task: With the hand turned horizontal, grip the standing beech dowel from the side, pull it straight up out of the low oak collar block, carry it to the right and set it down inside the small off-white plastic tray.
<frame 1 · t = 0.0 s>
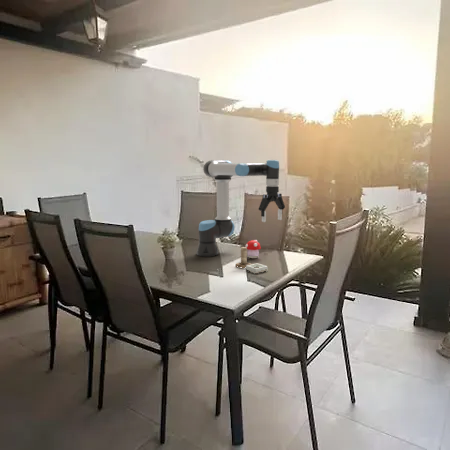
hand: (271, 220, 238), 28 cm above the table, tool pointing down, fingers open, 13 cm apart
mushroom: (252, 257, 263), on the table
tray: (256, 270, 231), on the table
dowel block: (243, 266, 240), on the table
dowel: (243, 257, 239), in the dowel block
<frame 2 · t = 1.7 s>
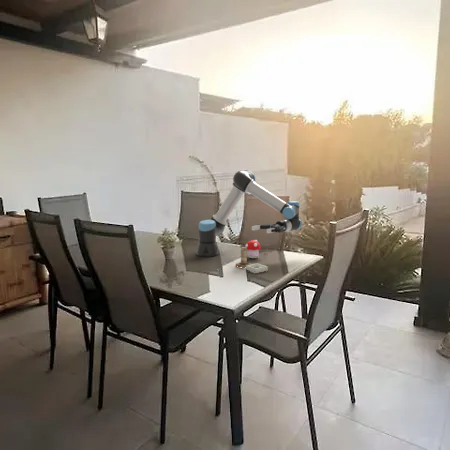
hand: (259, 229, 244), 22 cm above the table, tool horizontal, fingers open, 13 cm apart
nothing on the table moved.
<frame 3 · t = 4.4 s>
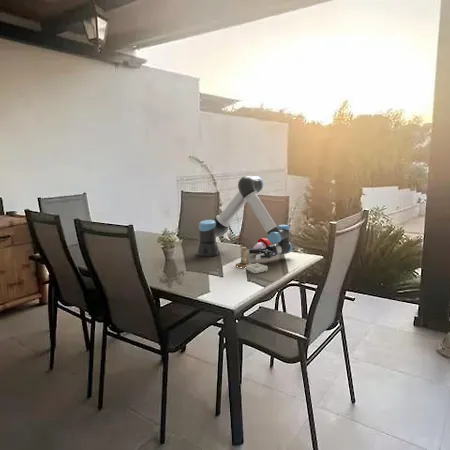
hand: (248, 255, 240), 7 cm above the table, tool horizontal, fingers open, 13 cm apart
mushroom: (256, 249, 268), point 4 cm above the table
everything else where it was.
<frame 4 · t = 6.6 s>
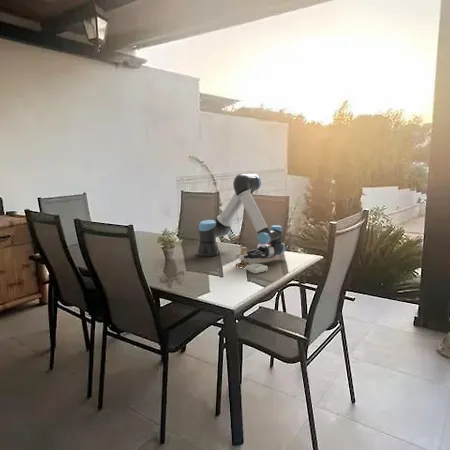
hand: (237, 257, 235), 7 cm above the table, tool horizontal, fingers closed on dowel, 3 cm apart
mushroom: (259, 248, 267), point 5 cm above the table
dowel: (243, 257, 239), in the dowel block, touching gripper
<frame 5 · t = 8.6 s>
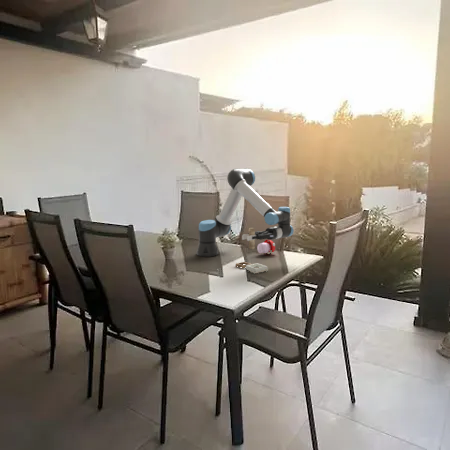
hand: (245, 237, 228), 20 cm above the table, tool horizontal, fingers closed on dowel, 3 cm apart
dowel: (251, 238, 232), point 19 cm above the table, touching gripper
everything else where it was.
when the fingers open (9 cm above the table, at t = 11.0 s): dowel drops 1 cm, resting on tray.
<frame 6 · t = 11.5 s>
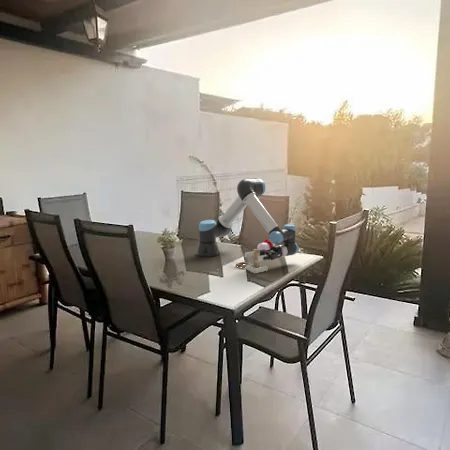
hand: (251, 257, 227), 9 cm above the table, tool horizontal, fingers open, 11 cm apart
dowel: (256, 259, 230), in the tray, point 7 cm above the table
everything else where it was.
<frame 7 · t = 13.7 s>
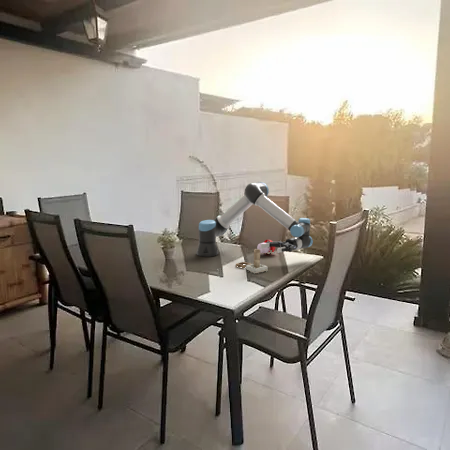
hand: (269, 248, 235), 12 cm above the table, tool horizontal, fingers open, 13 cm apart
nothing on the table moved.
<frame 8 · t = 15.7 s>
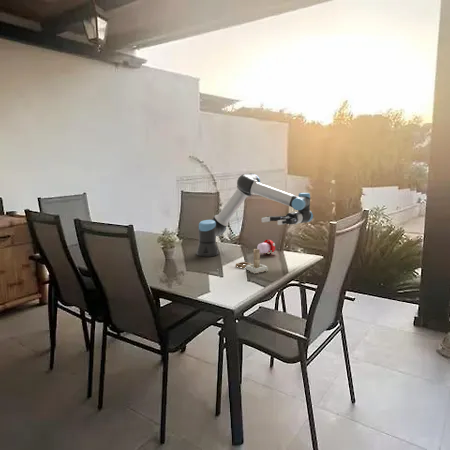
hand: (269, 221, 236), 28 cm above the table, tool horizontal, fingers open, 13 cm apart
nothing on the table moved.
at the end: dowel inside the target area on the tray (0.1 cm from its centre), point 6.8 cm above the tray's base; dowel tilted 1°; the gripper is holding nothing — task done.
